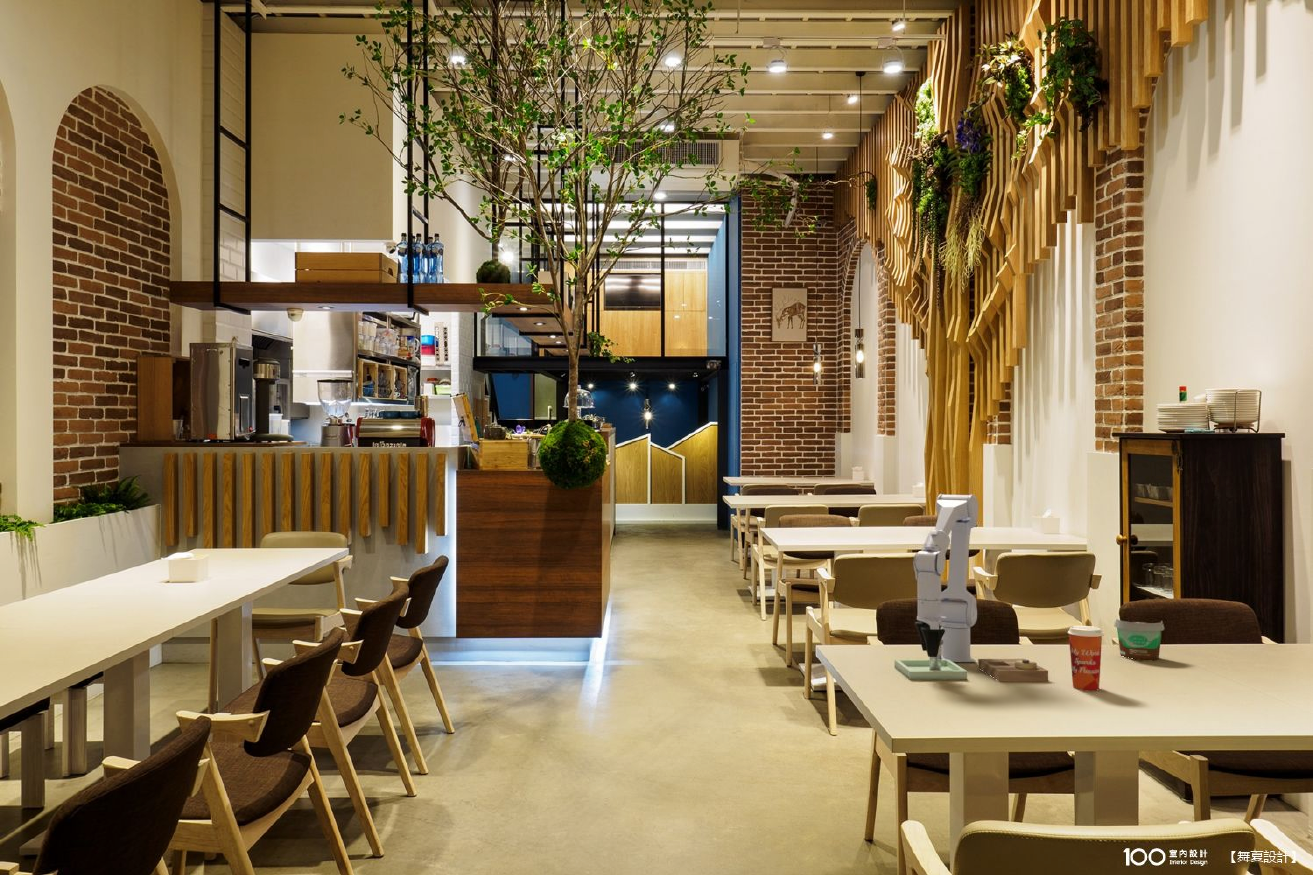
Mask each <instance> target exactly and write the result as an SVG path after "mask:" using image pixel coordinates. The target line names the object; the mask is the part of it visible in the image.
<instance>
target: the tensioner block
mask: <svg viewBox="0 0 1313 875" xmlns="http://www.w3.org/2000/svg"><path fill="white" fill-rule="evenodd" d="M977 666H978V668H979V669H978V668H977V669H978V670H980V669H981V670H983V671H984V672H986V673H987V674H986V673H985V674H986V675H988V676H989V675H991V676H992V677H991V676H990V677H991V678H993V677H994V678H995V679H994V678H993V679H994V680H996V679H997V680H998V682H1049V670H1047V669H1045V668H1044V667H1042V666H1040V665H1038V664H1037V662H1035V661H1031V660H1029V659H1026V658H978V659H977ZM981 670H980V671H981ZM983 671H982V672H983ZM984 672H983V673H984ZM997 680H996V681H997Z"/></svg>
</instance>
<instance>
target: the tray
mask: <svg viewBox="0 0 1313 875" xmlns="http://www.w3.org/2000/svg"><path fill="white" fill-rule="evenodd" d="M894 668H895V669H896V670H897V671H898V672H899V673H900V674H902V675H903V676H904V675H905V676H904V677H906V678H907V679H908V680H910V681H940V680H941V681H947V680H948V681H949V680H950V681H954V680H956V681H961V680H960V679H962V681H963V679H967V680H968V671H967V670H966V669H965V668H963V667H961V666H960V665H958V664H956V662H952V661H950V660H949V659H941V671H929V669H930V658H929V659H925V658H924V659H894Z"/></svg>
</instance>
